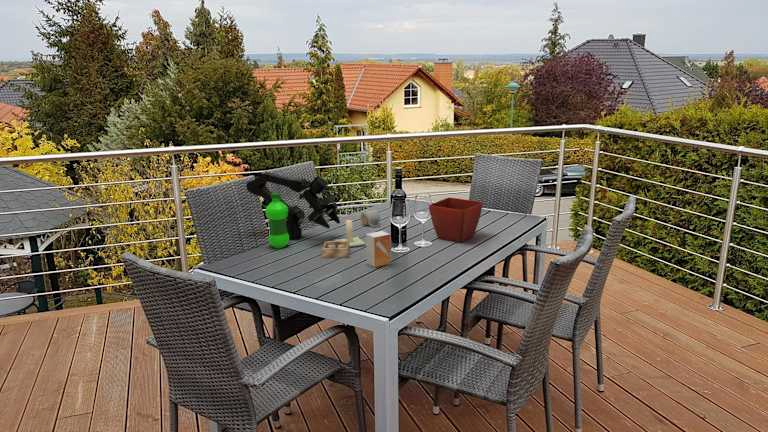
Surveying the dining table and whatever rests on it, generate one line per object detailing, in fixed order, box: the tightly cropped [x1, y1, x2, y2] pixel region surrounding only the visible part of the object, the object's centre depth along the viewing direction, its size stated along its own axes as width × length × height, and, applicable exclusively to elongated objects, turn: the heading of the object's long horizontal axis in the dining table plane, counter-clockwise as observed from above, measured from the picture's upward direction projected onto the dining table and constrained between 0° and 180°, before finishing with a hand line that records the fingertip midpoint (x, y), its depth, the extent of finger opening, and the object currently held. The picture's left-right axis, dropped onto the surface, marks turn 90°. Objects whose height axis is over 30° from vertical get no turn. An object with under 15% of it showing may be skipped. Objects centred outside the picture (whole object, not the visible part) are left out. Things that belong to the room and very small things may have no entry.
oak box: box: [321, 240, 351, 259], centre depth 242 cm, size 11×11×4 cm
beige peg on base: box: [333, 219, 367, 248], centre depth 254 cm, size 11×11×11 cm
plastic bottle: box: [264, 192, 290, 249], centre depth 251 cm, size 10×10×25 cm
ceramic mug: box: [360, 208, 381, 228], centre depth 285 cm, size 11×8×8 cm
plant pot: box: [428, 197, 484, 244], centre depth 259 cm, size 19×19×17 cm
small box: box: [365, 230, 392, 268], centre depth 226 cm, size 8×6×13 cm
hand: (334, 225), depth 257 cm, fingers open, 9 cm apart
